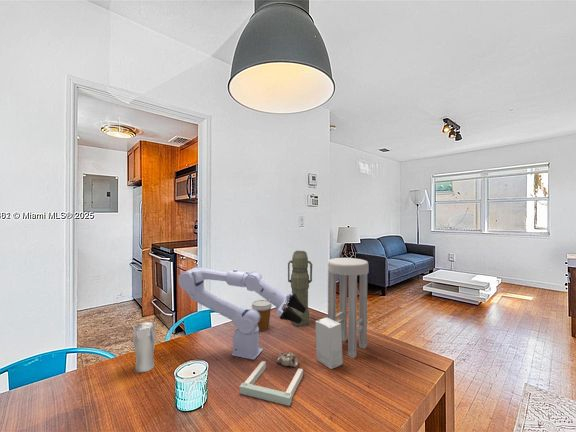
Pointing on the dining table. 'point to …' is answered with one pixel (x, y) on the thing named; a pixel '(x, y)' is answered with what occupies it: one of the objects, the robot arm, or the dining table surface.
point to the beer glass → (144, 346)
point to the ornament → (288, 359)
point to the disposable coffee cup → (262, 313)
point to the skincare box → (329, 342)
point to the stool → (349, 299)
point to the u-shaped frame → (267, 393)
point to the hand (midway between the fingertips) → (303, 316)
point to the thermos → (300, 283)
